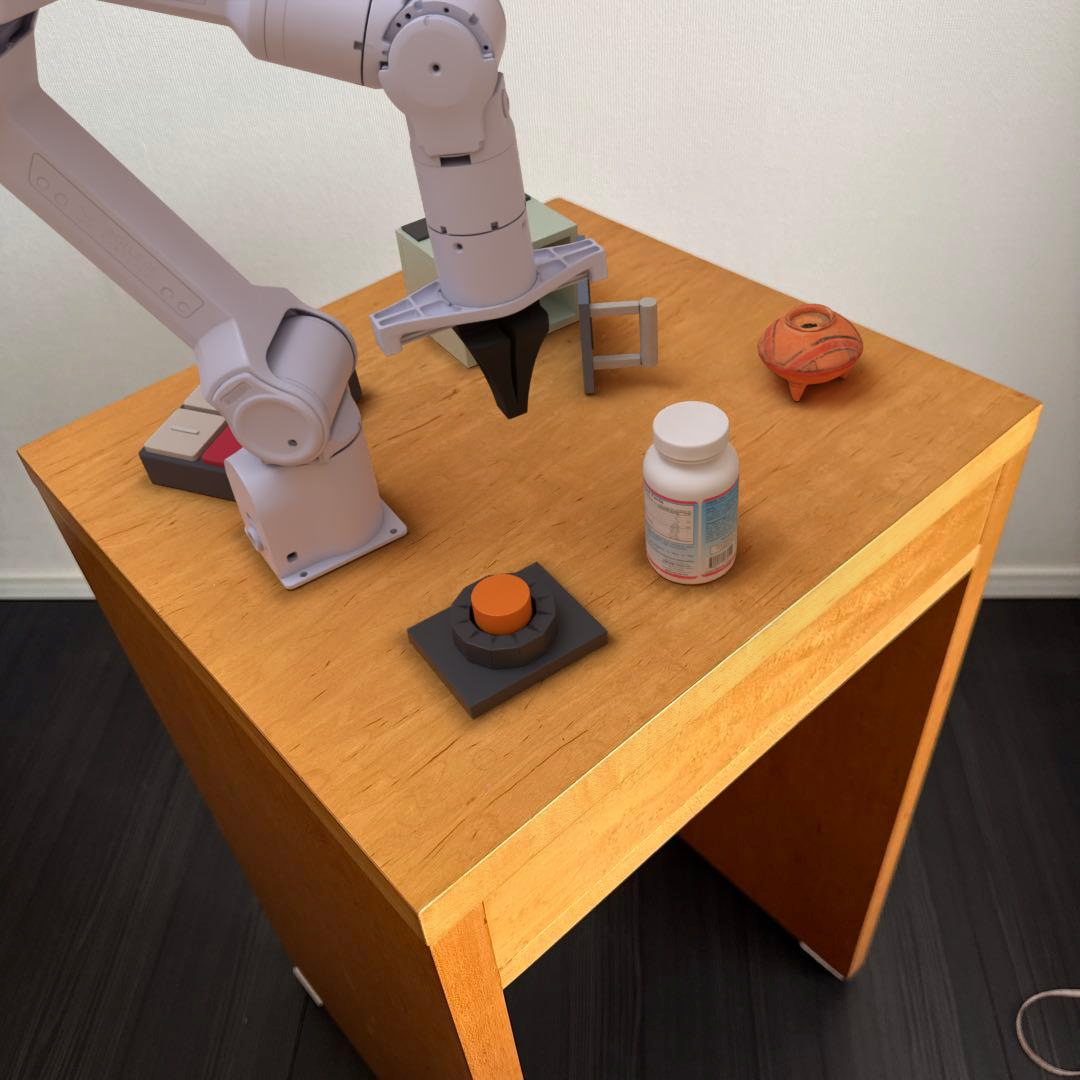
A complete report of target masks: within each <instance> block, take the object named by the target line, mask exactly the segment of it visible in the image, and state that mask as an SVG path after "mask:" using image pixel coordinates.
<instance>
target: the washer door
mask: <svg viewBox="0 0 1080 1080" xmlns="http://www.w3.org/2000/svg"><path fill="white" fill-rule="evenodd" d="M585 239H586V235H585V234H578V236H575V242H578V241H582V240H585ZM590 282H591V281H590V280H589V279H587V280H584V281H581V282H578V283H577V287H578V307H579V334H580V347H581V348H580V349H581V362H582V376H583V377H582V378H583V393H584V394H594V393H595V379H594V378H595V376H594V371H598V370H608V369H609V370H610V369H625V368H639V367H643V368H645V369H652V368H655V367H656V366H658V365H659V338H658V337H659V336H658V335H659V334H658V333H659V332H658V300H657V299H656V298H654V297H651V296H647V297H643V298H641V299H640V300H637V299H635V300H622V301H620V300H619V301H609V302H596V303H592V300H591V283H590ZM627 315H638V324H639V327H638V328H639V352H634V353H621V354H607V355H593V350H595V349H594V346H595V345H594V333H593V332H594V331H593V330H594V329H593V318H599V317H600V318H601V317H613V316H614V317H615V316H627Z"/></svg>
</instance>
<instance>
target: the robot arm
mask: <svg viewBox="0 0 1080 1080" xmlns="http://www.w3.org/2000/svg"><path fill="white" fill-rule="evenodd" d="M57 1H59V0H0V185H1V186H3V188H5V189H6V190H7V191H8V192H10V194H12V195H13V196H14V197H15V198H16V199H18V200H19V201H20V202H21V203H22V204H23V205H24V206H25V207H26V208H28V209H29V210H30V211H31V212H33V213H34V214H35V215H36V216H37V217H38V218H40V219H41V220H42V221H43V222H44V223H45V224H47V225H48V226H49V227H50V228H51V229H52V230H53V231H54V232H56V233H57V234H58V235H59V236H60V237H61V238H63V240H65V241H66V242H67V243H69V244H70V245H71V246H72V247H73V248H74V249H75V250H76V251H78V252H79V253H80V254H81V255H82V256H84V257H85V259H87V260H88V261H89V262H91V264H93V266H95V267H96V268H97V269H99V270H100V271H101V272H102V273H103V274H105V275H106V276H107V277H108V278H109V280H111V281H112V282H114V283H115V285H117V286H118V287H120V289H121V290H123V291H124V292H125V293H126V294H128V295H129V296H130V297H131V298H132V299H133V300H135V302H137V303H138V304H139V305H140V306H142V308H144V310H146V311H147V312H148V313H149V314H151V316H153V318H155V319H157V320H158V322H160V324H162V325H164V326H165V327H166V328H167V329H168V330H169V331H170V332H171V333H173V335H175V336H176V337H177V338H178V339H180V340H181V341H182V342H183V343H184V344H185V345H186V346H188V348H190V349H191V350H192V351H193V354H194V358H195V362H196V367H197V373H198V377H199V382H200V383H201V388H202V392H203V396H204V398H205V400H206V401H207V402H208V403H209V404H211V405H212V406H213V407H214V408H215V409H216V410H217V411H219V412H220V414H221V415H222V416H223V417H224V418H225V420H226V421H227V423H228V425H229V427H230V429H231V431H232V433H233V435H234V437H235V438H236V440H237V441H238V442H239V443H240V444H241V445H242V446H243V448H241V449H240V450H239V451H237V452H236V453H234V454H233V455H231V456H229V457H228V458H226V459H225V460H224V465H225V470H226V474H227V477H228V480H229V482H230V485H231V488H232V491H233V494H234V497H235V500H236V501H235V502H236V505H237V509H238V511H239V513H240V517H241V520H242V522H243V525H244V528H243V529H244V532H245V535H246V536H247V538H248V540H250V543H251V544H252V546H253V548H254V549H255V550H256V552H258V553H259V554H260V555H261V557H262V558H263V560H264V561H265V562H266V564H267V565H268V566H269V568H270V570H271V571H272V572H273V573H274V575H275V577H277V579H278V580H279V582H280V583H281V584H282V586H283V587H284V589H286V590H295V589H297V588H298V587H301V586H303V585H305V584H307V583H309V582H311V581H313V580H315V579H318V578H319V577H321V576H324V575H325V574H327V573H330V572H332V571H334V570H335V569H337V568H340V567H342V566H344V565H346V564H348V563H350V562H352V561H354V560H356V559H358V558H360V557H362V556H365V555H367V554H369V553H371V552H373V551H375V550H377V549H379V548H382V547H383V546H385V545H388V544H389V543H391V542H393V541H395V540H398V539H400V538H402V537H404V536H405V535H407V534H408V527H407V525H406V524H405V523H404V522H403V521H402V520H401V518H400V517H399V516H398V515H397V514H396V513H395V512H394V511H393V510H392V508H391V507H390V506H389V505H388V504H387V503H386V502H385V501H384V500H383V499H382V498H381V496H380V493H379V488H378V484H377V480H376V475H375V471H374V467H373V462H372V458H371V454H370V450H369V445H368V442H367V437H366V433H365V429H364V425H363V421H362V415H361V412H360V410H359V407H358V404H357V402H356V403H355V401H354V400H353V398H352V396H351V393H350V389H349V385H348V380H349V379H350V377H351V375H352V374H353V372H354V370H355V369H356V368H357V365H358V360H359V353H358V352H359V351H358V346H357V343H356V341H355V338H354V337H353V335H352V333H351V332H350V330H349V329H348V328H347V327H346V325H344V324H343V323H342V322H341V320H338V319H337V318H336V317H334V316H332V315H331V314H329V313H327V312H324V311H323V310H320V309H317V308H314V307H312V306H310V305H308V304H306V303H305V302H303V301H302V300H301V299H299V298H298V297H297V296H296V295H295V294H294V293H293V292H292V291H291V290H289V289H288V288H286V287H283V286H271V285H257V284H253V283H251V282H250V281H249V280H248V279H247V278H246V277H245V276H244V275H242V274H241V272H240V271H239V270H238V269H237V268H235V267H234V266H233V265H232V264H231V263H230V262H228V261H227V259H226V258H224V256H222V255H221V254H220V253H219V252H218V251H217V250H216V249H215V248H214V247H212V246H211V245H210V244H209V242H207V241H206V240H205V239H204V238H203V237H202V236H201V235H199V233H198V232H196V231H195V230H194V228H192V227H191V226H190V225H189V224H188V223H187V222H185V221H184V220H183V218H181V217H180V216H179V215H178V214H177V213H176V212H175V211H174V210H173V209H171V208H170V207H169V205H167V204H166V203H165V202H164V201H163V200H162V199H161V198H160V197H159V196H158V195H157V194H155V193H154V192H153V190H151V188H149V187H148V186H147V185H146V184H145V183H144V182H143V181H142V180H141V179H140V178H138V176H136V175H135V174H134V173H133V172H132V171H131V170H130V169H129V168H128V167H126V166H125V164H123V163H122V162H121V161H120V160H119V159H118V158H117V157H116V156H114V154H113V153H111V152H110V151H109V150H108V149H107V148H106V147H105V146H104V145H103V144H102V143H101V142H100V141H99V140H98V139H96V138H95V137H94V136H93V135H92V134H91V133H90V132H89V131H88V130H87V129H86V128H84V127H83V126H82V125H81V124H80V123H79V122H78V121H77V120H76V119H75V118H74V117H73V116H72V115H70V113H68V112H67V111H66V110H65V109H64V108H63V107H62V106H61V105H60V104H59V103H58V102H56V101H55V100H54V99H53V98H52V97H51V96H50V94H48V93H47V92H46V91H44V89H43V88H42V86H41V85H40V81H39V71H38V62H37V49H36V39H35V38H36V37H35V30H36V26H37V21H38V18H39V13H40V9H41V8H44V7H46V6H49V5H50V4H52V3H53V4H54V3H55V2H57ZM97 1H98V2H104V3H107V4H113V5H119V6H124V7H128V8H134V9H137V10H138V9H139V10H143V11H147V12H148V11H149V12H153V13H158V14H163V15H167V16H168V15H169V16H174V17H179V18H182V19H183V18H184V19H189V20H194V21H199V22H202V23H203V22H204V23H209V24H214V25H219V26H224V27H228V28H230V29H231V30H232V31H233V32H234V34H235V35H236V37H238V39H239V40H240V42H241V44H242V45H243V46H244V48H245V49H246V50H247V52H248V53H249V54H250V55H251V56H252V57H253V58H254V59H256V60H258V61H263V62H267V63H271V64H275V65H278V66H283V67H285V68H290V69H295V70H298V71H303V72H306V73H307V72H308V73H311V74H315V75H319V76H322V77H326V78H330V79H334V80H338V81H342V82H345V83H348V84H349V83H350V84H353V85H358V86H362V87H365V88H369V89H373V90H383V91H384V93H385V95H386V97H387V98H388V99H389V101H390V102H391V103H392V104H393V105H394V106H395V108H396V109H397V110H399V111H400V112H401V113H402V114H403V115H404V116H405V122H406V127H407V130H408V131H407V132H408V136H409V149H410V153H411V156H412V161H413V162H412V163H413V166H414V172H415V176H416V181H417V186H418V189H419V195H420V198H421V205H422V208H423V212H424V218H426V223H427V228H428V232H429V237H430V242H431V246H432V251H433V256H434V260H435V265H436V269H437V274H438V279H436V280H434V281H433V282H431V283H429V284H428V285H426V286H424V287H422V288H421V289H419V290H417V291H416V292H414V293H412V294H410V295H409V296H407V295H406V296H405V297H404V298H402V299H400V300H398V301H397V302H394V303H393V304H391V305H389V306H386V307H385V308H382V309H380V310H378V311H375V312H372V313H369V315H368V318H369V321H370V325H371V328H372V332H373V335H374V339H375V343H376V344H377V346H378V347H379V349H380V350H381V352H382V353H383V355H384V356H385V357H386V358H387V357H392V356H394V355H396V354H400V353H401V352H403V346H404V345H407V344H410V343H412V342H416V341H418V340H421V339H423V338H426V337H430V335H432V334H435V333H438V332H441V331H444V330H446V329H449V328H452V329H453V330H454V332H455V333H456V334H457V335H458V337H459V338H460V339H461V341H462V342H463V343H464V345H465V346H466V347H467V349H468V350H469V352H470V353H471V355H472V356H473V358H474V359H475V361H476V362H477V365H478V367H479V368H480V371H481V372H482V374H483V376H484V378H485V380H486V382H487V384H488V386H489V388H490V390H491V393H492V396H493V398H494V401H495V404H496V406H497V407H498V409H499V411H500V412H502V414H503V415H504V416H505V417H506V419H507V420H512V419H514V418H517V417H519V416H520V417H521V416H522V415H525V414H527V413H528V409H529V397H530V396H529V395H530V388H531V382H532V377H533V372H534V367H535V364H536V361H537V357H538V354H539V352H540V350H541V348H542V346H543V343H544V341H545V339H546V336H547V335H548V334H547V333H548V331H549V316H548V313H547V311H546V310H545V309H544V308H543V307H542V306H541V305H540V301H539V299H540V298H542V297H543V296H545V295H546V294H548V293H550V292H553V291H556V290H559V289H561V288H564V287H567V286H570V285H573V284H575V283H578V282H581V281H584V280H587V279H589V281H590V282H591V283H597V282H601V281H604V280H606V279H608V278H609V273H608V263H607V254H606V249H605V248H604V247H603V246H602V245H600V244H599V243H598V242H597V241H595V240H594V239H593V238H592V237H588V238H585V240H582V241H578V242H574V243H570V244H565V245H560V246H554V247H548V248H542V249H536V250H533V247H532V240H531V233H530V227H529V221H528V214H527V207H526V200H525V193H526V192H525V187H524V186H525V185H524V181H523V173H522V167H521V160H520V154H519V146H518V141H517V134H516V129H515V128H516V127H515V124H514V121H513V119H512V117H511V113H510V109H511V108H510V99H509V95H508V93H507V88H506V82H505V74H504V73H503V72H501V71H499V67H500V64H501V60H502V58H503V54H504V50H505V46H506V41H507V20H506V14H505V11H504V7H503V5H502V3H501V0H97ZM524 192H525V193H524ZM200 383H199V384H200Z"/></svg>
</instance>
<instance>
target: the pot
mask: <svg viewBox="0 0 1080 1080" xmlns="http://www.w3.org/2000/svg"><path fill="white" fill-rule="evenodd" d="M756 346H757V353H758V356H759V358H760V360H761V362H762V363H763V364H764V365H765V366H766V368H767V369H768V370H769V371H771V372H772V373H774V374H775V375H777V376H779V377H781V378H782V379H785V380H786V381H787V383H788V387H789V390H790V394H791V397H792V399H793V401H795V402H799V401H800V400H801V397H802V396H803V393H804V391H805V389H806V387H807V386H808V385H816V384H823V383H827V382H830V381H832V380H835V379H837V378H838V377H840V378H841V379H843V380H844V379H846V378H848V377H849V375H850V373H851V372H852V369H853V367H854V365H856V363H857V362H858V360H859V359H860V358H861V356H862V355H863V352H864V341H863V338H862V336H861V334H860V332H859V331H858V329H857V328H856V326H855V325H854V324H853V323H852V322H851V321H850V320H848V319H847V318H846V317H844V316H843V315H841V314H840V313H838V312H836V311H835V310H833V309H832V308H830V306H829V307H828V306H827V305H823V304H820V303H806V304H801V305H797V306H795V307H793V308H791V309H790V310H788V311H787V313H786V314H785V315H782V316H781V317H779V318H777V319H776V320H775V321H773V322H772V323H771V324H770V325H769V326H768V327H767V328H765V330H764V331H763V332H762V334H761V336H760V337H759V339H758V342H757V345H756Z"/></svg>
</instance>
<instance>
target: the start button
mask: <svg viewBox="0 0 1080 1080" xmlns="http://www.w3.org/2000/svg"><path fill="white" fill-rule="evenodd" d="M492 575H493V576H490V577H487V578H485V579H484V580H482V581H481V582H479V583H478V584H477V585H476V586H475V588H474V589H473V592H472V595H471V601H472V607H473V612H474V618H475V622H476V624H477V625H478V626H479V627H480V628H481V629H482V630H483V631H485V632H487V633H490V634H493V635H508V634H512V633H515V632H517V631H519V630H521V629H522V628H523V627H525V626H526V625H527V624H528V622H529V621H530V619H531V616H532V605H531V597H530V590H529V587H528V585H527V584H526V583H525V582H524V581H523V580H522V579H521V578H519V577H517V576H514V575H509V574H505V573H498V575H496V574H492Z"/></svg>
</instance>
